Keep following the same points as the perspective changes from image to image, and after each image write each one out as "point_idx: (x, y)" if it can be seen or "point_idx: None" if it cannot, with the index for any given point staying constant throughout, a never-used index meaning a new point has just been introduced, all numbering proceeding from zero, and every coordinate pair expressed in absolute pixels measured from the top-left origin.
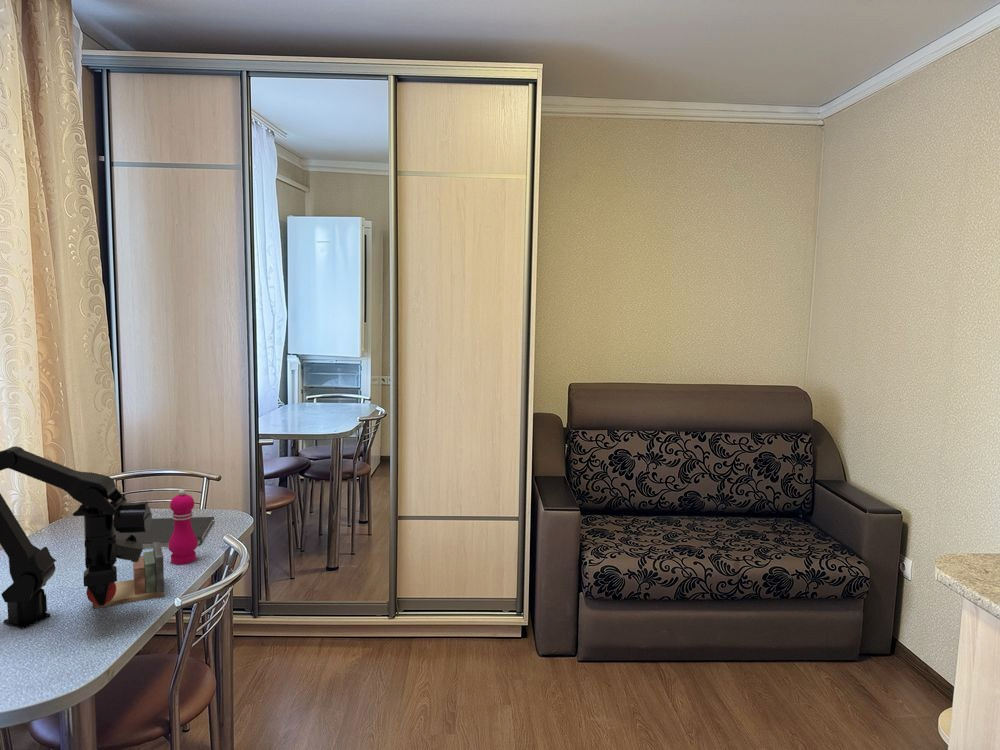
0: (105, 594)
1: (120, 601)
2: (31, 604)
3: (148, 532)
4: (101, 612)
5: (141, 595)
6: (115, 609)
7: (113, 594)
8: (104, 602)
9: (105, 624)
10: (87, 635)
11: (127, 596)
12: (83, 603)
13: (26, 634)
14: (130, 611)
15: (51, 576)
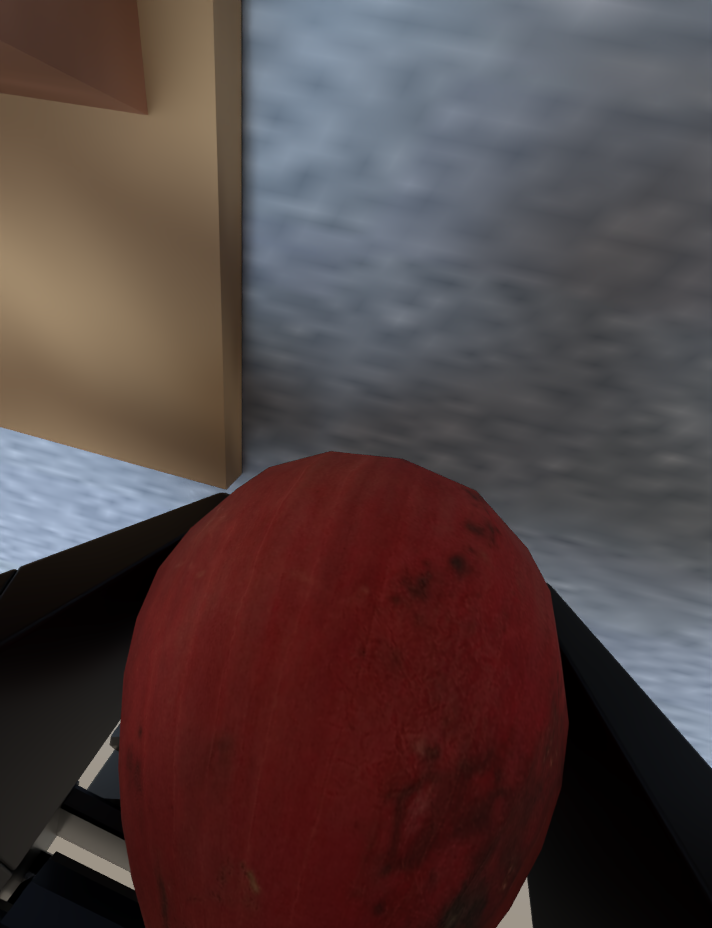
0: (679, 751)
1: (232, 296)
2: None
3: None
4: (331, 449)
5: (195, 27)
6: (333, 357)
7: (504, 526)
8: (563, 605)
9: (563, 484)
10: (639, 603)
11: (172, 214)
12: (150, 490)
13: None
14: (459, 247)
15: (34, 922)
